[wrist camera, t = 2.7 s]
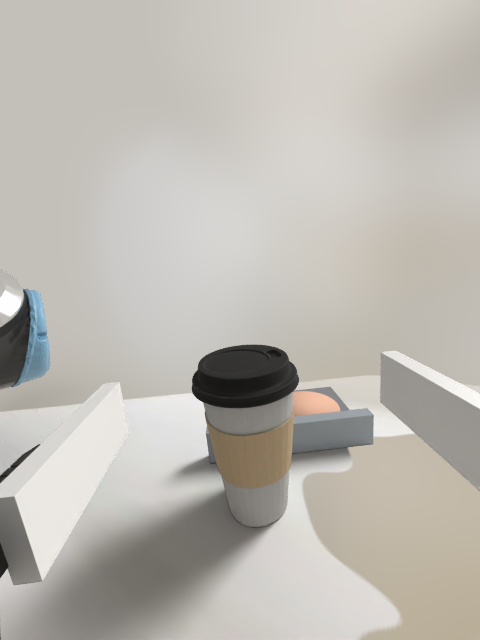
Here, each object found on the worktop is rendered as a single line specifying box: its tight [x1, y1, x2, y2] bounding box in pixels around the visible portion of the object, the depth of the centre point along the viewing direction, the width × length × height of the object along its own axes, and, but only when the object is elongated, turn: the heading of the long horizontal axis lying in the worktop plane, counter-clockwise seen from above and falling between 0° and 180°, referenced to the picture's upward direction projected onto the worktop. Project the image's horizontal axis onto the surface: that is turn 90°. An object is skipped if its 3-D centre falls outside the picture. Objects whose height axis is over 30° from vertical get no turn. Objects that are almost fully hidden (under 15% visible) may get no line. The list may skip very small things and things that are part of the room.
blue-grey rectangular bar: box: [206, 408, 373, 463], centre depth 33 cm, size 20×2×4 cm, turn 93°
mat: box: [293, 387, 349, 416], centre depth 41 cm, size 12×11×1 cm
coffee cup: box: [192, 345, 299, 527], centre depth 25 cm, size 9×9×15 cm
